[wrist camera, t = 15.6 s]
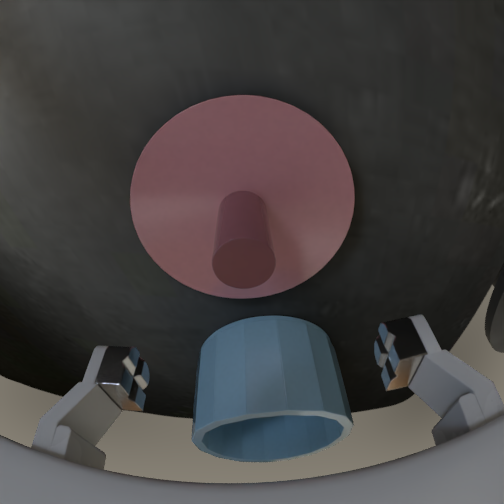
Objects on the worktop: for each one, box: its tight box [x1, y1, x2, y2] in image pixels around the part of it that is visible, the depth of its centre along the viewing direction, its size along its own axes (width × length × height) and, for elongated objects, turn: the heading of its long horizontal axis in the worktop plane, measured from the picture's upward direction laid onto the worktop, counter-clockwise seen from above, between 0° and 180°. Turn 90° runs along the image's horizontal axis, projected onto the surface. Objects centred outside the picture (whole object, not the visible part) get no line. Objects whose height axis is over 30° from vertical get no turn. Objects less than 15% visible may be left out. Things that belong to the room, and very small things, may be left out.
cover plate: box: [130, 94, 355, 299], centre depth 16 cm, size 13×13×6 cm
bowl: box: [192, 315, 354, 462], centre depth 24 cm, size 13×13×8 cm
